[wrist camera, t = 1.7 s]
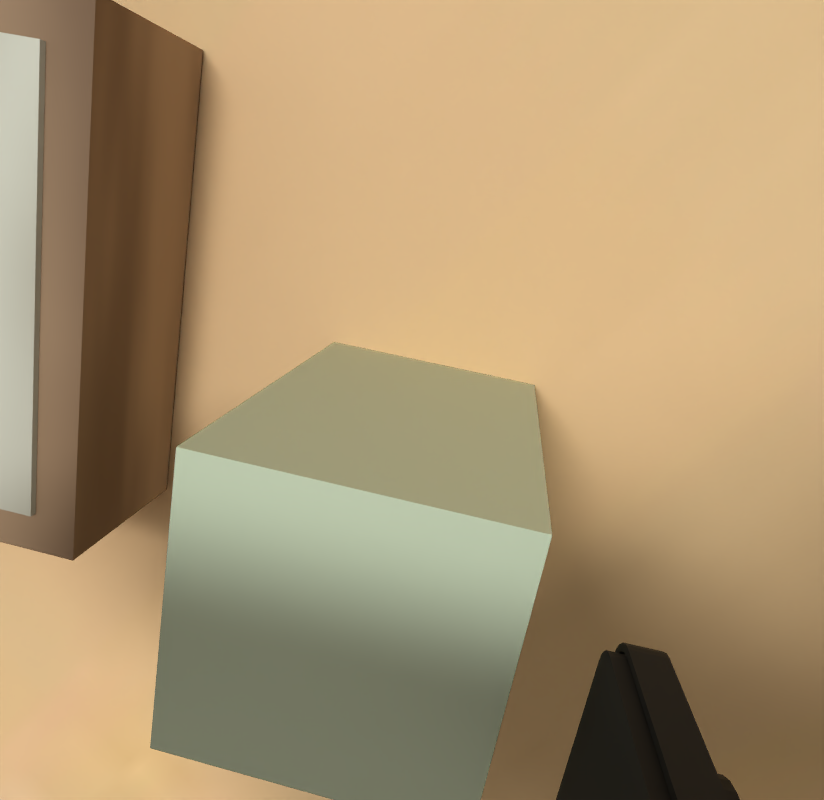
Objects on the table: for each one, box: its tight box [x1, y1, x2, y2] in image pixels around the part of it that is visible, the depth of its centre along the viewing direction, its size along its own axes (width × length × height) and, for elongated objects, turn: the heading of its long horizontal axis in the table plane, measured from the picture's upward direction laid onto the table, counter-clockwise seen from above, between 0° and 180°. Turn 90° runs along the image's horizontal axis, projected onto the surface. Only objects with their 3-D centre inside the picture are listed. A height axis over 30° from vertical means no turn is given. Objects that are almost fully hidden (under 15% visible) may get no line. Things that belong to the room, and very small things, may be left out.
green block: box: [150, 342, 552, 800], centre depth 13 cm, size 5×5×8 cm
